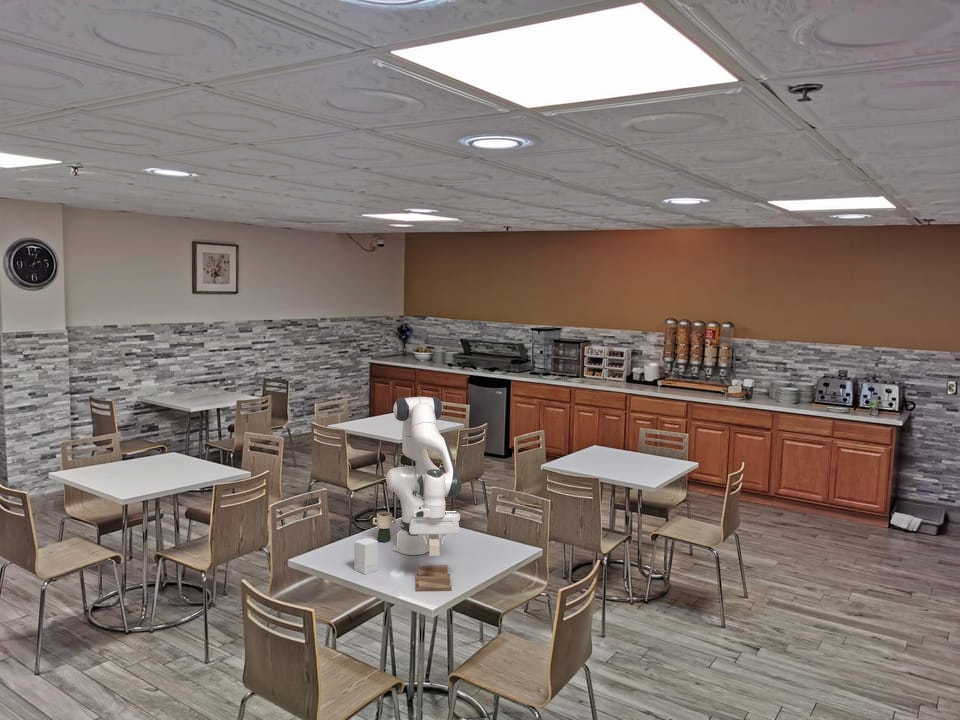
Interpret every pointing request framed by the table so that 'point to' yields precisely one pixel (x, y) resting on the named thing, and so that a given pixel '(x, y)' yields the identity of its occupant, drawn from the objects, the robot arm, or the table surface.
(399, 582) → the table surface
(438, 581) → the ridged wooden base
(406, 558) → the table surface
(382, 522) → the character mug
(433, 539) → the beige rectangular bar
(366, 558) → the supplement box
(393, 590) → the table surface
